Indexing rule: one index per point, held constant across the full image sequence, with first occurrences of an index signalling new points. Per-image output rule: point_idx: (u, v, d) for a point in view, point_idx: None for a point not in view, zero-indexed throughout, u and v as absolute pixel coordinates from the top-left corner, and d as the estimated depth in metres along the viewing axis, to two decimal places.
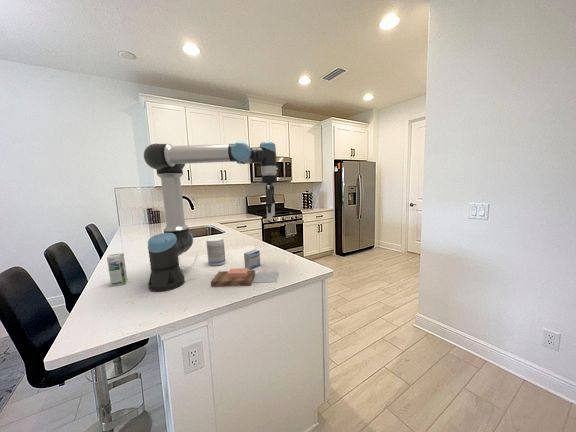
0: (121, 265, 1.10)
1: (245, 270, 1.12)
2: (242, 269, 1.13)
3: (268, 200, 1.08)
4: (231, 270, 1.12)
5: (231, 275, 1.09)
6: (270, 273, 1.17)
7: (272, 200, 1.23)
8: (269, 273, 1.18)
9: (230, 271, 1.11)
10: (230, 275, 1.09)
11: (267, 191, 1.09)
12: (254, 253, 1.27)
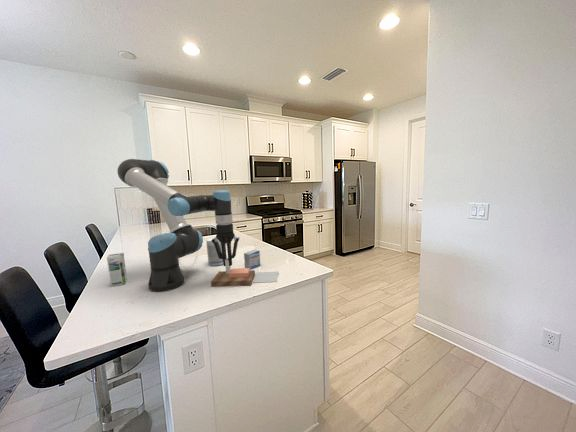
0: (121, 265, 1.10)
1: (247, 270, 1.12)
2: (243, 269, 1.13)
3: None
4: (232, 270, 1.12)
5: (232, 275, 1.09)
6: (270, 273, 1.17)
7: (228, 254, 1.10)
8: (269, 273, 1.18)
9: (231, 271, 1.11)
10: (231, 275, 1.09)
11: None
12: (254, 253, 1.27)
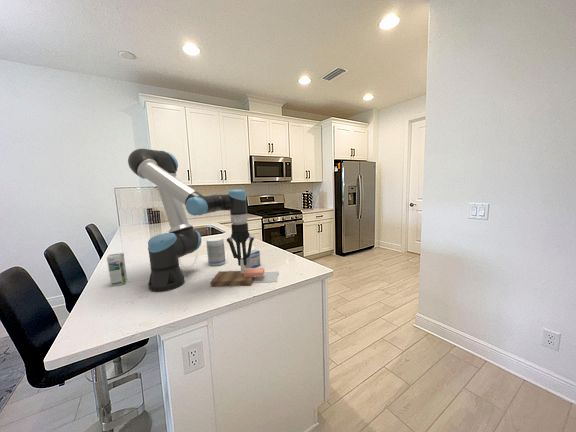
0: (121, 265, 1.10)
1: (261, 269, 1.12)
2: (258, 268, 1.13)
3: None
4: (247, 269, 1.12)
5: (247, 274, 1.09)
6: (270, 273, 1.17)
7: (243, 253, 1.10)
8: (269, 273, 1.18)
9: (246, 270, 1.11)
10: (246, 274, 1.09)
11: None
12: (254, 253, 1.27)
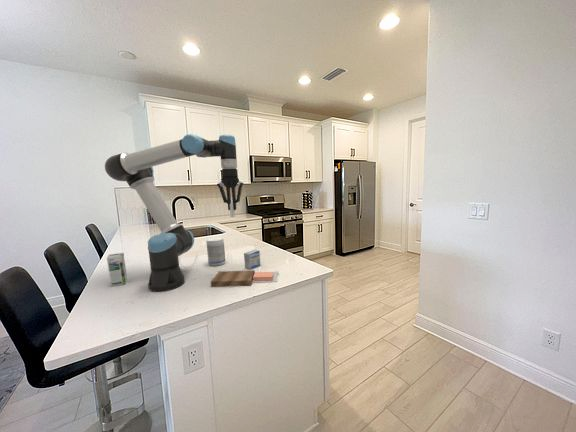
0: (121, 265, 1.10)
1: (271, 273, 1.12)
2: (267, 273, 1.13)
3: None
4: (256, 274, 1.12)
5: (257, 278, 1.09)
6: None
7: None
8: None
9: (255, 275, 1.11)
10: (256, 279, 1.09)
11: None
12: (254, 253, 1.27)
